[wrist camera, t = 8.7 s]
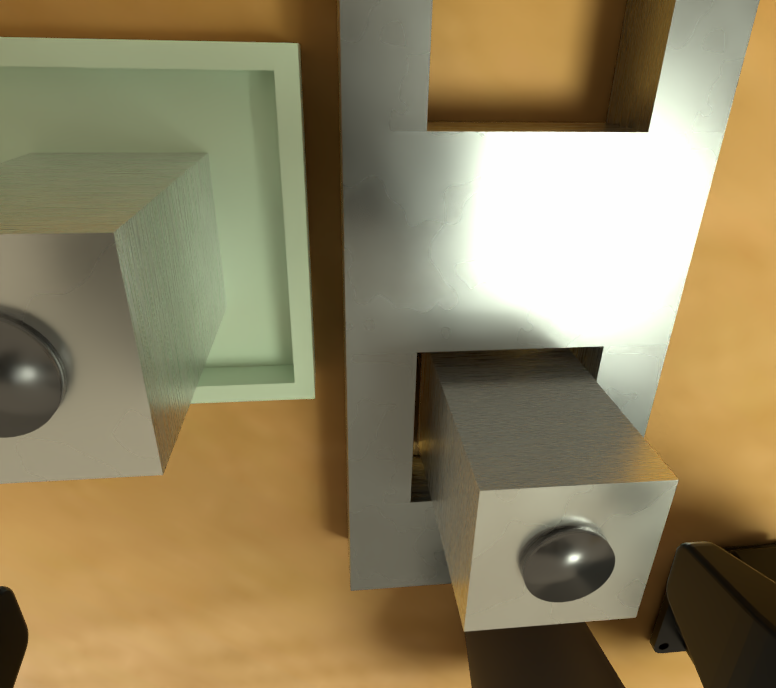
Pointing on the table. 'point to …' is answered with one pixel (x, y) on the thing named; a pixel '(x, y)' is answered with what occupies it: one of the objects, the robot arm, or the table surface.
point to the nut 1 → (103, 310)
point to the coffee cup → (539, 658)
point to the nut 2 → (538, 488)
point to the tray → (227, 166)
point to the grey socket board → (511, 237)
